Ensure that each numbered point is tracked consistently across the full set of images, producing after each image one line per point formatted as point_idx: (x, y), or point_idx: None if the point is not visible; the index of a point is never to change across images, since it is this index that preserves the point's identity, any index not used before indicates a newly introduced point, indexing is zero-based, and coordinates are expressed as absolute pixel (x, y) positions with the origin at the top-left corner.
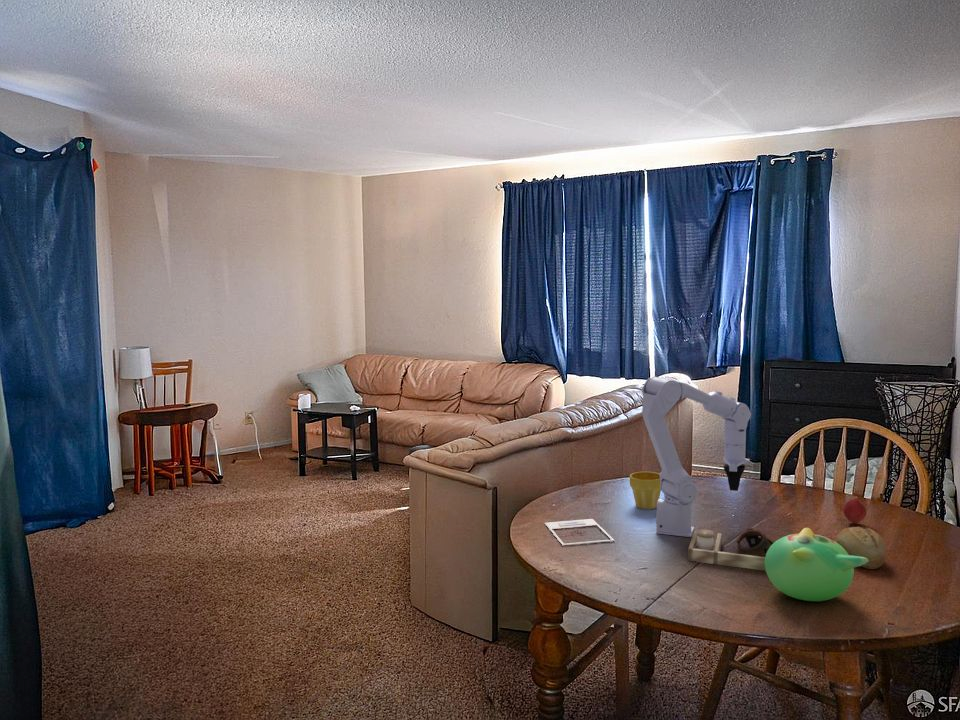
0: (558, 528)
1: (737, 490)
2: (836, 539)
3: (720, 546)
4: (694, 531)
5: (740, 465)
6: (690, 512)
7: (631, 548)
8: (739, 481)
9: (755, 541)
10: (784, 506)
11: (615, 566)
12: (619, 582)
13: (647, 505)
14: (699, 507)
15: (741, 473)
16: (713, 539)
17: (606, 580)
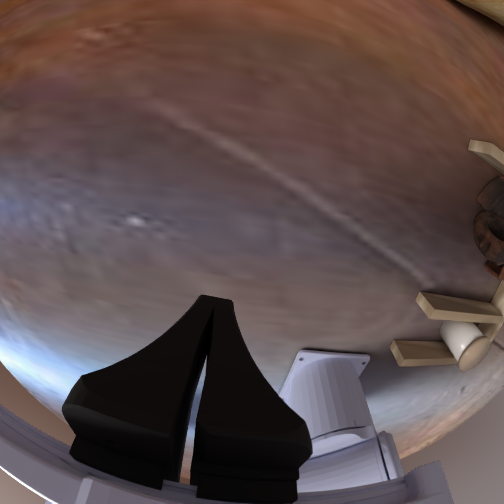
0: None
1: (232, 302)
2: (479, 5)
3: (452, 301)
4: (406, 365)
5: (143, 452)
6: (358, 403)
7: (397, 416)
8: (245, 344)
9: (495, 230)
10: (35, 58)
11: (445, 412)
12: (479, 396)
13: None
14: (98, 309)
15: (288, 409)
16: (479, 331)
17: (470, 406)
